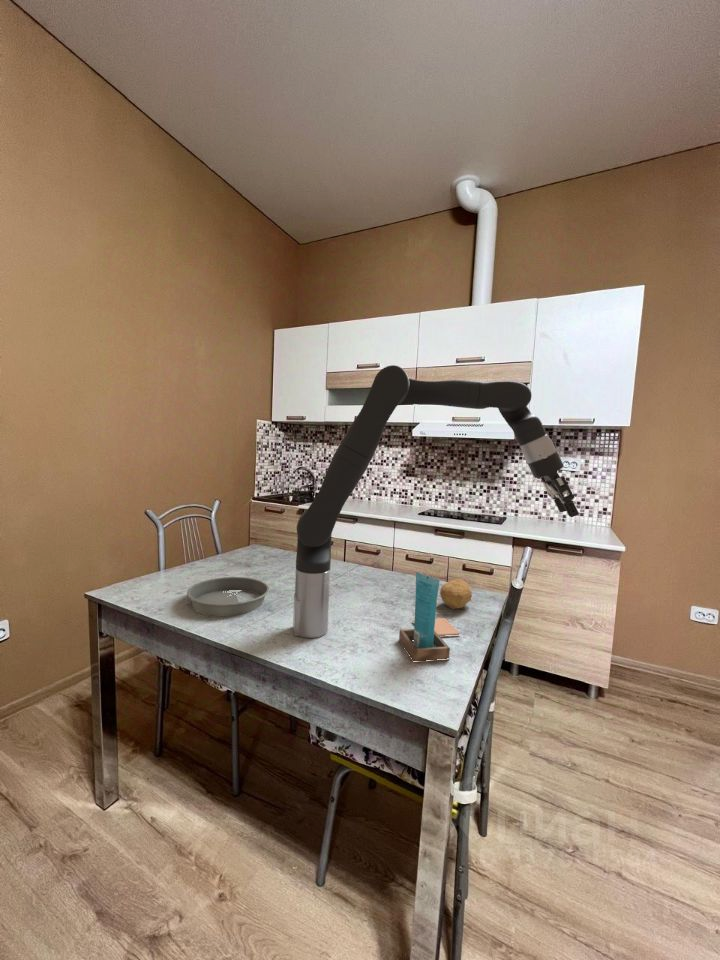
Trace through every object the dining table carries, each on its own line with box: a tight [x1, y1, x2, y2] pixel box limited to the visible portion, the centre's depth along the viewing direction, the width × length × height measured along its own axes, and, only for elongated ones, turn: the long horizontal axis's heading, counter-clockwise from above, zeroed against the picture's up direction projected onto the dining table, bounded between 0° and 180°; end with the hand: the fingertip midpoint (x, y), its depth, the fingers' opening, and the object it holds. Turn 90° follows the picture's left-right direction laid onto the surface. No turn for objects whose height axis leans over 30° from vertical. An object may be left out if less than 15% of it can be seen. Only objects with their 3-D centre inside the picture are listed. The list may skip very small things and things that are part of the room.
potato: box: [439, 578, 473, 609], centre depth 133 cm, size 10×14×8 cm
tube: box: [413, 571, 441, 649], centre depth 102 cm, size 7×5×19 cm, turn 47°
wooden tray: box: [398, 628, 451, 662], centre depth 103 cm, size 9×11×3 cm
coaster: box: [412, 617, 461, 636], centre depth 116 cm, size 10×10×1 cm
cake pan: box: [186, 576, 270, 617], centre depth 128 cm, size 25×25×4 cm
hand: (569, 513), depth 104 cm, fingers open, 8 cm apart
